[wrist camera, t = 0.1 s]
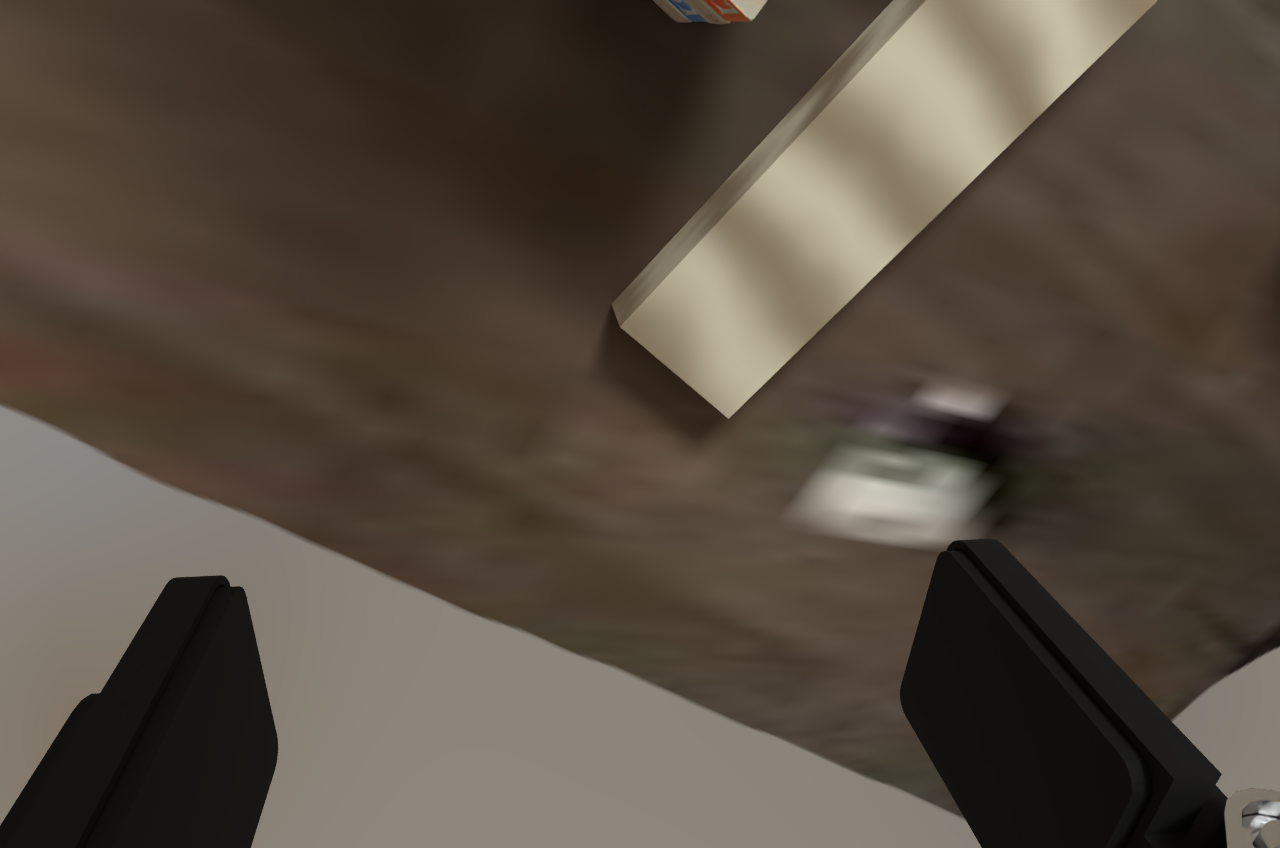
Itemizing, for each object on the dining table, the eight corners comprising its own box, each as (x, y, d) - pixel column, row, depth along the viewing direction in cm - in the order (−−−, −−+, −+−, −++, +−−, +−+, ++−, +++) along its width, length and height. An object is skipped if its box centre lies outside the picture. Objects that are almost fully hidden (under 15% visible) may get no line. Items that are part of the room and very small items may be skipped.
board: (1035, -154, 34) (1087, -172, 31) (1117, -11, 38) (1172, -15, 35) (611, 304, 41) (620, 326, 38) (713, 391, 44) (728, 418, 41)
